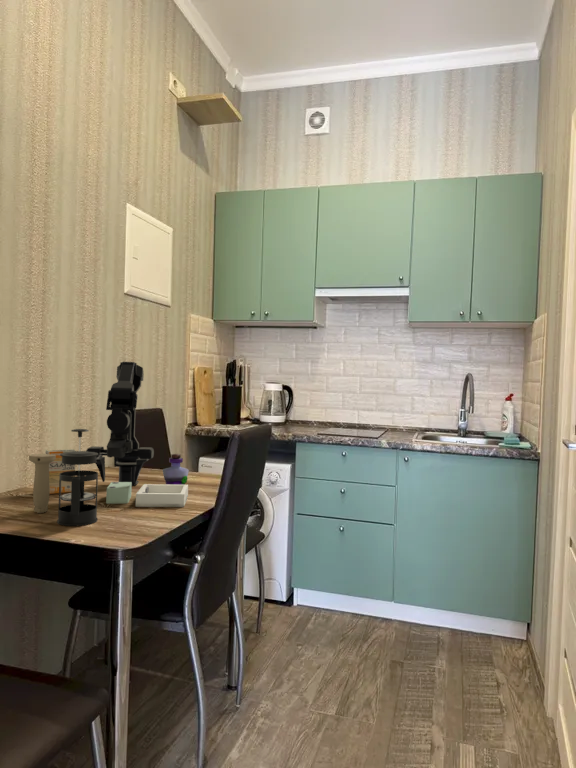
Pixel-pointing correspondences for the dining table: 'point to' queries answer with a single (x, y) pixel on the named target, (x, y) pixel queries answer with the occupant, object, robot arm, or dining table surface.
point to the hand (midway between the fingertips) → (119, 481)
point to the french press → (78, 488)
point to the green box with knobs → (119, 492)
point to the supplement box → (56, 469)
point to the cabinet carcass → (162, 495)
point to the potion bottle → (175, 471)
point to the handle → (41, 481)
